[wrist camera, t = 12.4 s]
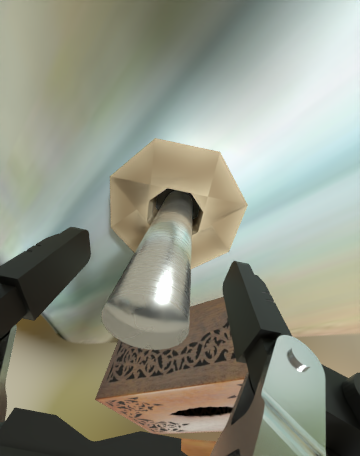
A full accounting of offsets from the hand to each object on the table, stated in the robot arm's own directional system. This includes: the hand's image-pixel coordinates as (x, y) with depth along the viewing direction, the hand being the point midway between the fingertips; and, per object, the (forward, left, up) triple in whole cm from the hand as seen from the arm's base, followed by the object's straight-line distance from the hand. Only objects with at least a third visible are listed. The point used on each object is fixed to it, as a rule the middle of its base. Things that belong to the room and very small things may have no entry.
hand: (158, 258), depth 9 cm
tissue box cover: (+24, +9, -11) cm, 27 cm away
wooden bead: (0, 0, -10) cm, 10 cm away
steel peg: (0, 0, -10) cm, 10 cm away
